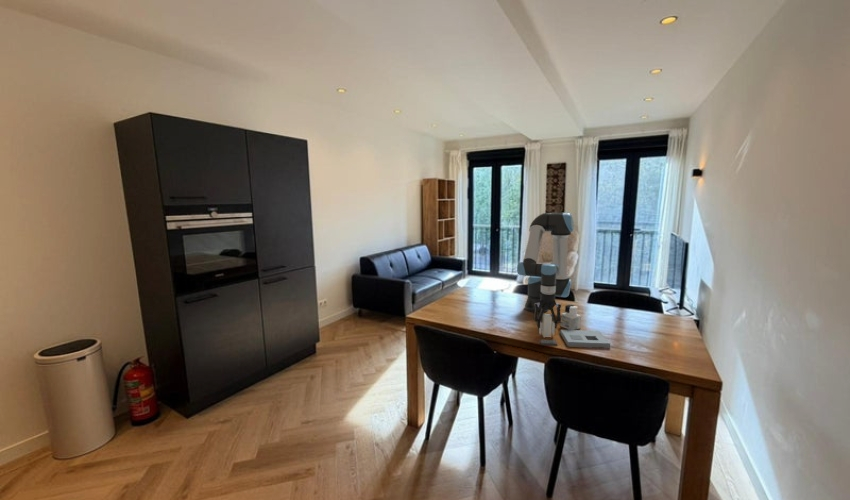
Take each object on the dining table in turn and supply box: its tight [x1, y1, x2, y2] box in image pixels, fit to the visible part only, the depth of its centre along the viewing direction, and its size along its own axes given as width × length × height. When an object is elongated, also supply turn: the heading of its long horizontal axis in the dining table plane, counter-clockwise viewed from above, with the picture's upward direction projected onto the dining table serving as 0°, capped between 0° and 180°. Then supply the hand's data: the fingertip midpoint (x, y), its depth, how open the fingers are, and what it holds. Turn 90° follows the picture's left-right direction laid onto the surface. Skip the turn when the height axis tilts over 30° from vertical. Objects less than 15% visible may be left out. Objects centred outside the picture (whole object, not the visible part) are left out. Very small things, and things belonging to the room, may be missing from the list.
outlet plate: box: [560, 329, 611, 349], centre depth 180 cm, size 16×20×3 cm
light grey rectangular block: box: [541, 313, 553, 338], centre depth 186 cm, size 4×4×12 cm
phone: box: [539, 339, 558, 346], centre depth 178 cm, size 4×8×1 cm, turn 81°
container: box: [560, 304, 582, 330], centre depth 197 cm, size 8×8×13 cm
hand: (546, 333), depth 187 cm, fingers open, 6 cm apart
